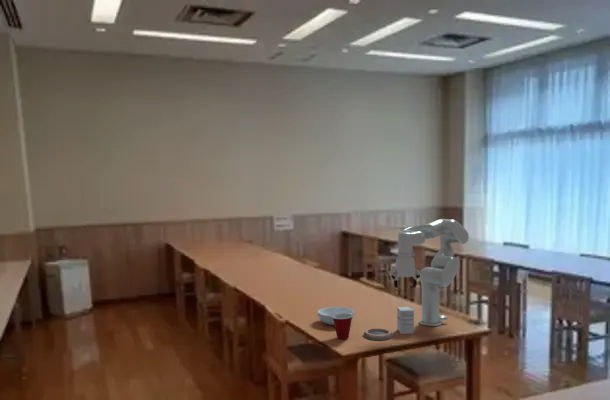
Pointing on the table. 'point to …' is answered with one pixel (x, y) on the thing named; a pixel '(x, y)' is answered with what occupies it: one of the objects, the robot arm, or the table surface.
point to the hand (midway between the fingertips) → (405, 287)
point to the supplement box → (405, 320)
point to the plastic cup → (342, 325)
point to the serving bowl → (332, 313)
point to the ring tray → (378, 334)
